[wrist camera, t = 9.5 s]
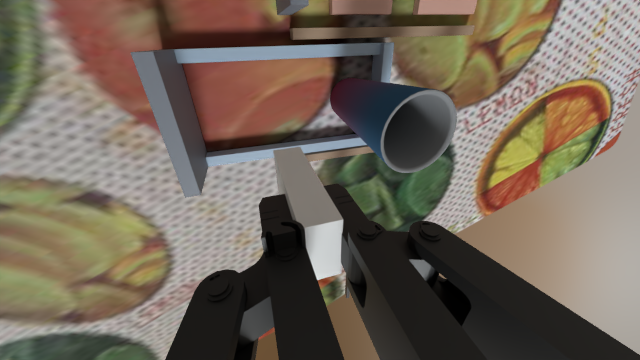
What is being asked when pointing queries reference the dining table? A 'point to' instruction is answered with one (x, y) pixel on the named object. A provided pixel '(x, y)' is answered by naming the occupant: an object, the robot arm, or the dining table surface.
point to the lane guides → (369, 33)
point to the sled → (181, 120)
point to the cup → (397, 120)
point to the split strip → (382, 7)
